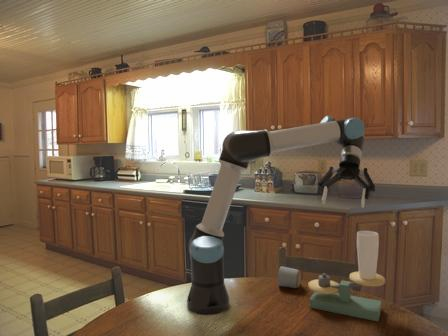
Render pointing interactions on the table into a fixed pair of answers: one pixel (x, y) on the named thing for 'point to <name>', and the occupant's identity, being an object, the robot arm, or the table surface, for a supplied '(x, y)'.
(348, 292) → the balance
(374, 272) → the white cup
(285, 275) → the ceramic mug
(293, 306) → the table surface
